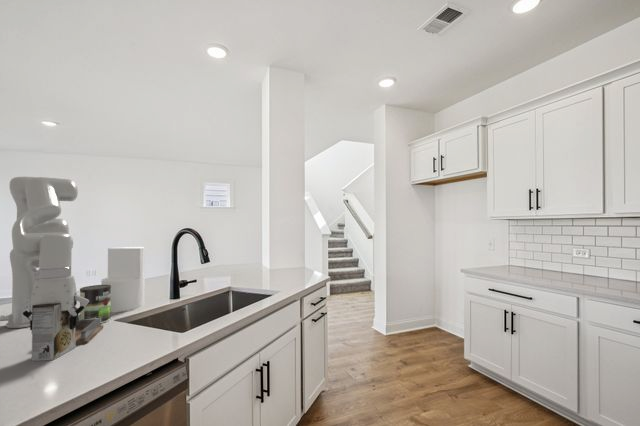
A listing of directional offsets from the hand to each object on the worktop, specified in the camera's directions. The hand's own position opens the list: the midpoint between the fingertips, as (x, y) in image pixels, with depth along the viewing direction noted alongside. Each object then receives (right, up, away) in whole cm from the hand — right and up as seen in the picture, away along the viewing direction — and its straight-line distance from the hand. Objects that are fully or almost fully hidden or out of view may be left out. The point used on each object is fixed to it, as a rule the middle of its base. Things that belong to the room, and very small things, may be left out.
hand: (54, 330), depth 93 cm
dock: (-5, -8, +13) cm, 16 cm away
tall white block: (-13, -9, +52) cm, 54 cm away
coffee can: (-10, -9, +30) cm, 33 cm away
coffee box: (0, -8, 0) cm, 8 cm away
